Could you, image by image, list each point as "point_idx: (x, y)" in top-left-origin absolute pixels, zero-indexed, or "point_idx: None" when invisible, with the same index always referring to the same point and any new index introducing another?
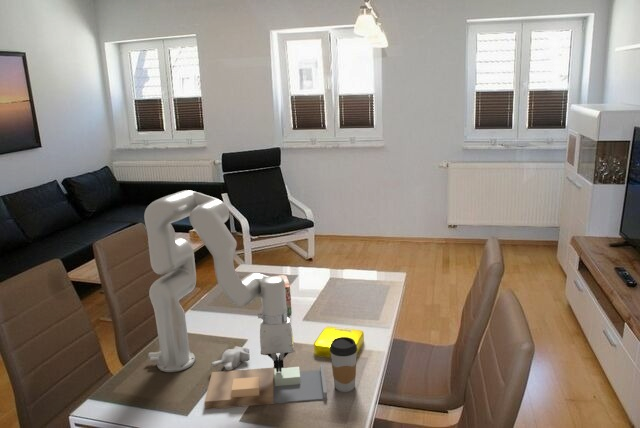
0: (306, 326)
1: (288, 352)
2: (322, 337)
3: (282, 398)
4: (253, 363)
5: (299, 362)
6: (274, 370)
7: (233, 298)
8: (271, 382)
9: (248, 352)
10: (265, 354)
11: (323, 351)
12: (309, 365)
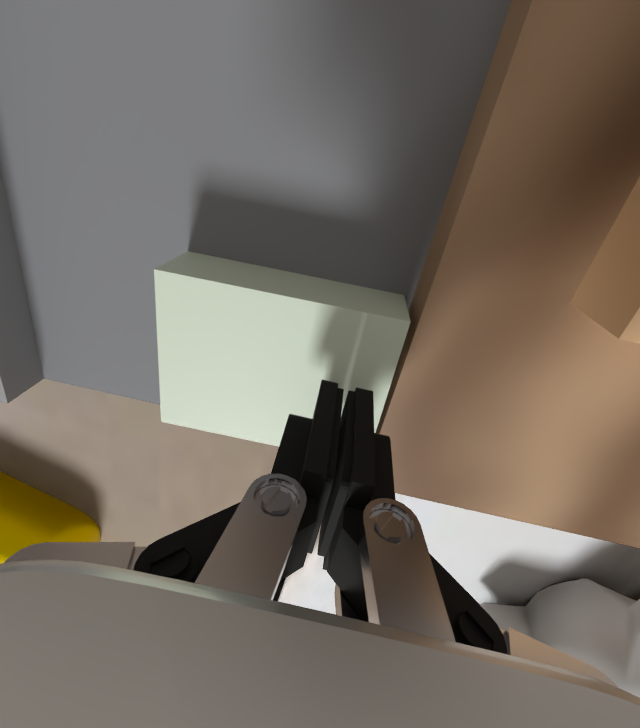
0: None
1: (136, 564)
2: None
3: (393, 40)
4: (453, 575)
5: (186, 495)
6: None
7: None
8: (451, 288)
9: None
10: (528, 648)
11: (18, 522)
12: (125, 450)
